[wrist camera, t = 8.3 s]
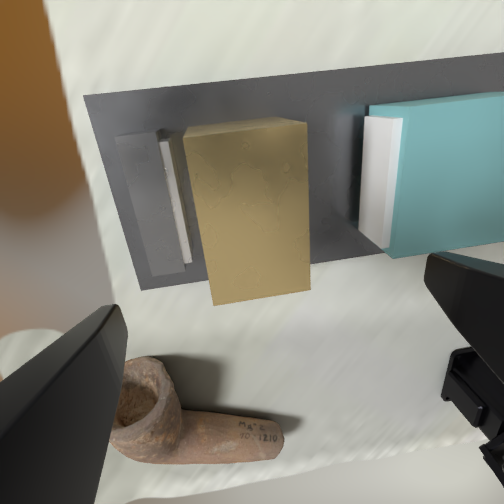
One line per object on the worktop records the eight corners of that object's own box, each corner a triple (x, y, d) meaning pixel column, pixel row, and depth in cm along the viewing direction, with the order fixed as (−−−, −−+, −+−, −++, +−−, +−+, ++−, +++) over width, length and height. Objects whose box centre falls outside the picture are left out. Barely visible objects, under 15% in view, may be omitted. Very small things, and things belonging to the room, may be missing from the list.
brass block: (283, 243, 22) (310, 289, 16) (210, 254, 21) (213, 306, 16) (275, 116, 18) (307, 122, 13) (188, 126, 18) (182, 138, 12)
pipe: (278, 493, 28) (322, 438, 23) (75, 495, 24) (74, 428, 19) (267, 421, 34) (302, 363, 28) (99, 413, 30) (104, 343, 24)
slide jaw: (489, 91, 19) (556, 89, 15) (462, 217, 22) (512, 240, 19) (361, 106, 18) (400, 107, 15) (354, 233, 22) (384, 260, 18)
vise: (524, 51, 19) (576, 43, 17) (481, 231, 25) (515, 246, 22) (89, 95, 17) (68, 94, 15) (143, 283, 23) (135, 307, 20)
